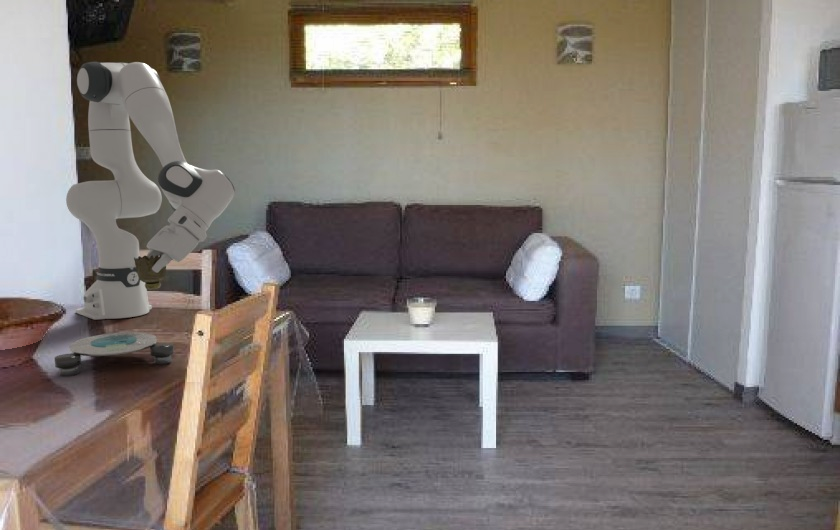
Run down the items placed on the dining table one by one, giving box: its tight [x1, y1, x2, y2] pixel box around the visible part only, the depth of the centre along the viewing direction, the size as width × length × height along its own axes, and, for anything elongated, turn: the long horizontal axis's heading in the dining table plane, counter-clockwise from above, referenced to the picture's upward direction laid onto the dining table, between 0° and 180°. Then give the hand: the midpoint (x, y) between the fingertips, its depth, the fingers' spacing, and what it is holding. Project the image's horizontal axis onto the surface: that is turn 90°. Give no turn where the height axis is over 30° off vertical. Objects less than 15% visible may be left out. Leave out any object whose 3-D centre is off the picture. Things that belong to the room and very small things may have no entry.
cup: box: [134, 255, 167, 290], centre depth 180 cm, size 8×7×8 cm
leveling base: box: [54, 331, 175, 377], centre depth 164 cm, size 24×22×6 cm
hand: (148, 268), depth 180 cm, fingers closed on cup, 7 cm apart
